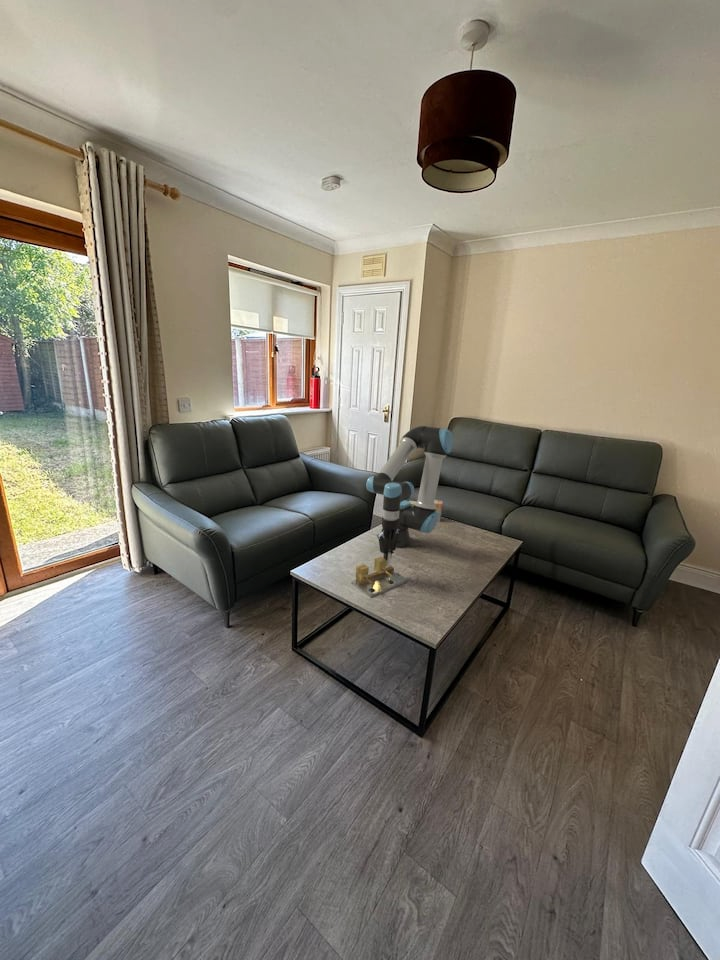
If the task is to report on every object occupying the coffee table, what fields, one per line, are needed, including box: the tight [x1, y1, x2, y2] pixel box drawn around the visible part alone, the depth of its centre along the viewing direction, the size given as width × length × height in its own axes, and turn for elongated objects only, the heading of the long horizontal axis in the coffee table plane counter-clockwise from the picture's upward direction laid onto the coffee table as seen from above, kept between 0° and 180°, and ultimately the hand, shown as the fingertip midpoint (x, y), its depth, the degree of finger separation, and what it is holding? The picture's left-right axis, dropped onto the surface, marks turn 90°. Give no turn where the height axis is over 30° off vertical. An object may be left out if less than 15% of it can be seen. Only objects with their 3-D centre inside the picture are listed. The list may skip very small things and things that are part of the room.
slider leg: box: [373, 556, 393, 582], centre depth 173 cm, size 10×4×8 cm, turn 39°
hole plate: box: [351, 571, 407, 598], centre depth 173 cm, size 13×21×1 cm, turn 129°
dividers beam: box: [355, 563, 395, 589], centre depth 172 cm, size 10×21×8 cm, turn 129°
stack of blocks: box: [408, 499, 444, 523], centre depth 248 cm, size 21×6×12 cm, turn 73°
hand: (386, 565), depth 178 cm, fingers closed
